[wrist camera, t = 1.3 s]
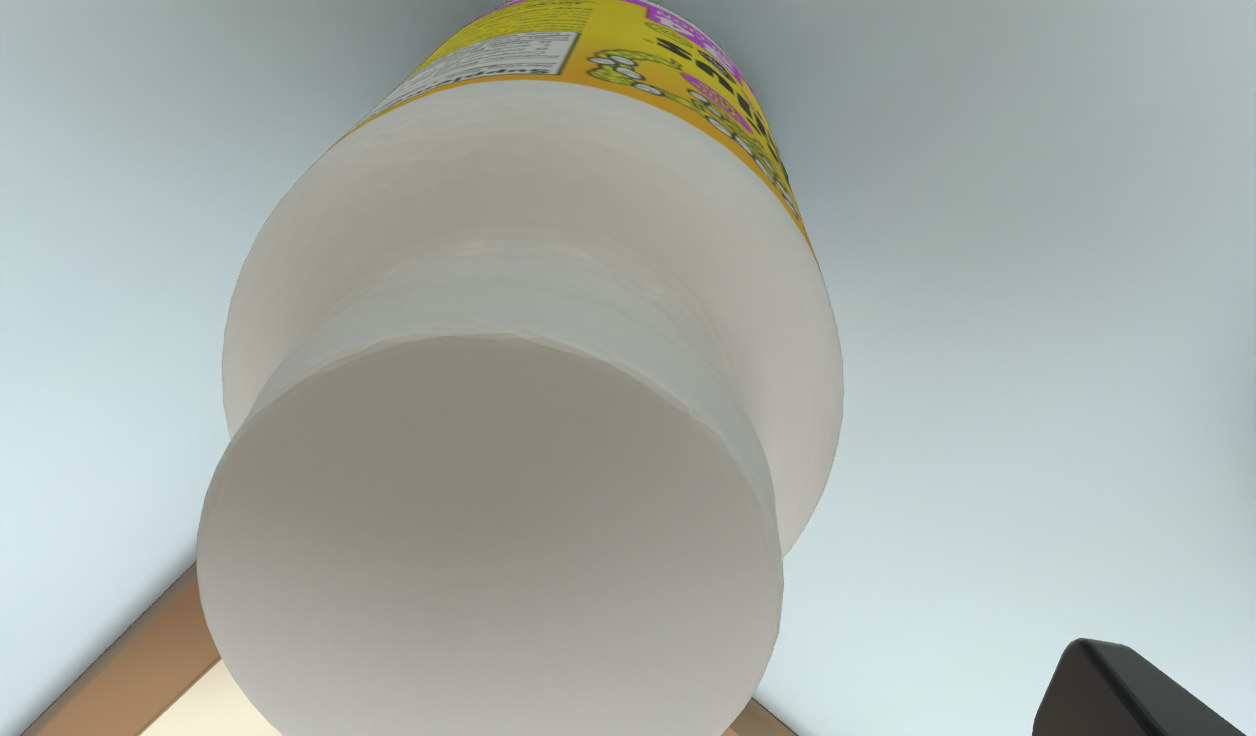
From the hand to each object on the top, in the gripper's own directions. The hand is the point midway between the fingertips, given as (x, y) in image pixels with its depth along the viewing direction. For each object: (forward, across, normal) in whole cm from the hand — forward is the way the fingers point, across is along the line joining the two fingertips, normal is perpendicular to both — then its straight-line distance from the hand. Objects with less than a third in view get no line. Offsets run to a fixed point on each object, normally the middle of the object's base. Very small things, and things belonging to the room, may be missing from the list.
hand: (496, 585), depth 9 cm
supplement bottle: (+13, 0, 0) cm, 13 cm away
